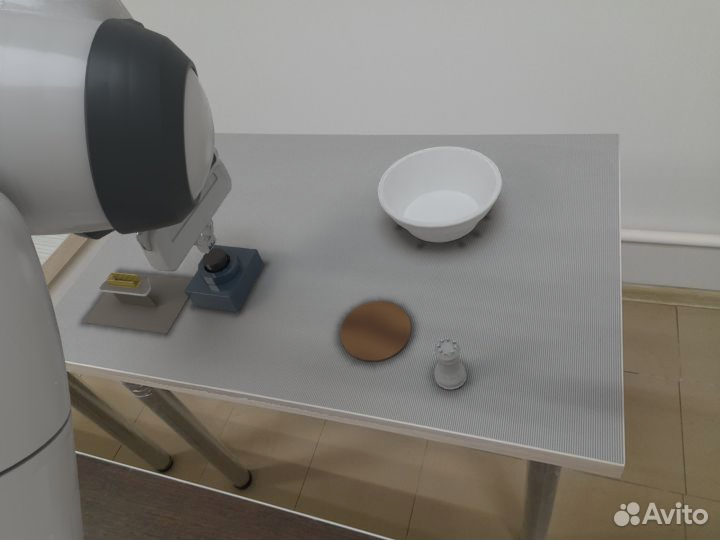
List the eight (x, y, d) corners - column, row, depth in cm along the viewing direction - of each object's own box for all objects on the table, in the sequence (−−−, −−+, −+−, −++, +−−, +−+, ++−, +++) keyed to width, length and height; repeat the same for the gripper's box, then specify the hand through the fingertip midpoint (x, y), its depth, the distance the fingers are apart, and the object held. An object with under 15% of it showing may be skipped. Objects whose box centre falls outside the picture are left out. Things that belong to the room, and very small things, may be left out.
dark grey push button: (222, 274, 88) (218, 266, 86) (202, 271, 89) (197, 263, 87) (233, 256, 90) (228, 248, 88) (213, 254, 91) (209, 246, 90)
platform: (119, 272, 101) (100, 249, 97) (198, 279, 96) (182, 255, 91) (83, 322, 94) (61, 300, 89) (166, 333, 89) (148, 310, 84)
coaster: (401, 367, 76) (400, 365, 75) (331, 355, 79) (330, 353, 79) (418, 307, 82) (418, 305, 82) (353, 299, 86) (352, 297, 86)
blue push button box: (238, 312, 89) (225, 290, 84) (194, 306, 92) (179, 284, 87) (264, 264, 95) (253, 242, 91) (222, 260, 98) (210, 237, 94)
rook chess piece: (429, 385, 73) (424, 354, 67) (440, 359, 75) (436, 327, 70) (460, 395, 71) (457, 364, 65) (470, 368, 74) (469, 336, 68)
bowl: (414, 278, 86) (408, 244, 80) (367, 206, 101) (359, 173, 95) (525, 230, 89) (528, 194, 83) (464, 167, 103) (463, 131, 97)
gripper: (150, 234, 69) (194, 298, 79) (221, 140, 81) (251, 207, 91) (113, 230, 71) (160, 293, 81) (187, 139, 83) (220, 204, 93)
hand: (209, 246), depth 86 cm, fingers closed
